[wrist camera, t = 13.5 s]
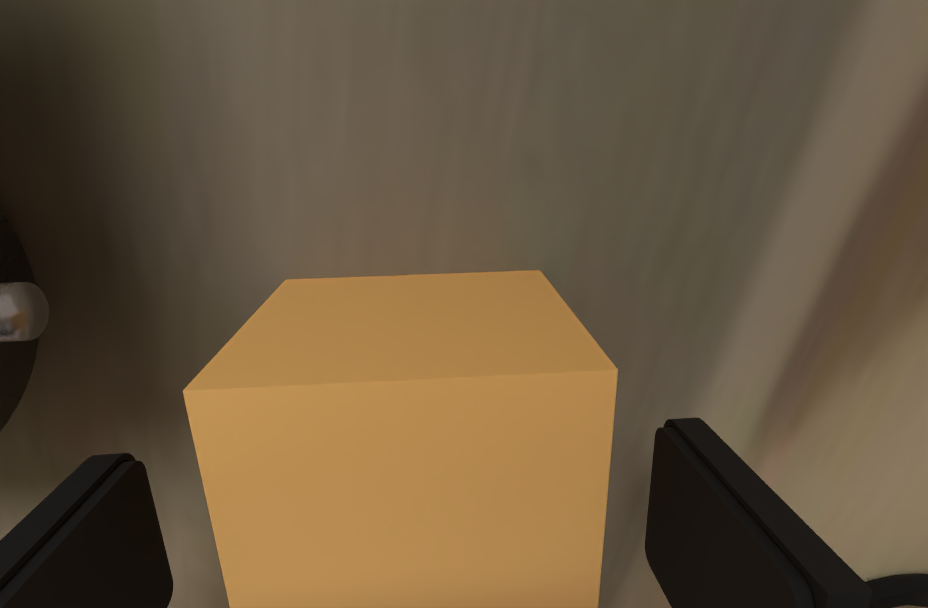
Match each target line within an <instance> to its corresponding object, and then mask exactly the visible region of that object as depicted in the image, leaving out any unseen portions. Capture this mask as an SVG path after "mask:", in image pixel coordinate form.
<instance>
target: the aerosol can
mask: <svg viewBox="0 0 928 608" xmlns="http://www.w3.org/2000/svg"><path fill="white" fill-rule="evenodd" d="M866 584H867V585H868V586H869V587H870V588H871V589H872V590H873V591H872V596H873V597H874V598H875V599H876V600H877V601H878V602H879V603H880V604H881V605H882V606H883V607H884V608H893V607H899V606H905V605H910V606H920V607H927V608H928V574H910V575H896V576H891V577H887V578H882V579H878V580H873V581H870V582H867V583H866Z"/></svg>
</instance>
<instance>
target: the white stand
mask: <svg viewBox="0 0 928 608" xmlns="http://www.w3.org/2000/svg"><path fill="white" fill-rule="evenodd" d="M48 319H49V306H48V302H47V299H46V297H45V295H44V293H43V292H42V290H41V289H40V288H39V287H37V286H36V285H35V283H34V279H33V275H32V271H31V268H30V265H29V263H28V260H27V257H26V254H25V252H24V250H23V248H22V246H21V244H20V242H19V240H18V237H17V236H16V234H15V232H14V231H13V229H12V227H11V226H10V224H9V222H8V221H7V219H6V218H5V217H4V215H3V214H2V213H1V211H0V431H1V429H2V428H3V427H4V426H5V424H6V423H7V422H8V420H9V418H10V417H11V415H12V414H13V412H14V410H15V409H16V407H17V405H18V403H19V401H20V399H21V397H22V395H23V393H24V391H25V389H26V386H27V383H28V380H29V378H30V375H31V372H32V368H33V364H34V360H35V356H36V350H37V343H38V337H39V336H40V335H41V334H42V333H43V331H44V330H45V328H46V326H47V323H48Z"/></svg>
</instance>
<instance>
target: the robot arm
mask: <svg viewBox="0 0 928 608" xmlns="http://www.w3.org/2000/svg"><path fill="white" fill-rule="evenodd" d="M645 551H646V557H647V560H648V563H649V565H650V567H651V569H652V571H653V573H654V575H655V577H656V579H657V581H658V583H659V584H660V586H661V588H662V590H663V592H664V594H665V596H666V598H667V599H668V601H669V603H670V605H671V607H672V608H884V607H883V606H882V605H881V604H880V603H879V602H878V601H877V600H876V599H875V598H874V597H873V596H872V591H873V590H872V589H871V588H870V587H869V586H868V585H867V584H866V583H865V582H864V581H863V580H862V579H861V578H860V577H859V576H858V575H857V574H856V573H855V572H854V571H853V570H852V569H851V568H850V567H849V566H848V565H847V564H846V563H845V562H844V561H843V560H842V559H841V558H840V557H839V556H838V555H837V554H836V553H835V552H834V551H833V550H832V549H831V548H830V547H829V546H828V545H827V544H826V543H825V542H824V541H823V540H822V539H821V538H820V537H819V536H818V535H817V534H816V533H815V532H814V531H813V530H812V529H811V528H810V527H809V526H808V525H807V524H806V523H805V522H804V521H803V520H802V519H801V518H800V517H799V516H798V515H797V514H796V513H795V512H794V511H793V510H792V509H791V508H790V507H789V506H788V505H787V504H786V503H785V502H784V501H783V500H782V499H781V498H780V497H779V496H778V495H777V494H776V493H775V492H774V491H773V490H772V489H771V488H770V487H769V486H768V485H767V484H766V483H765V482H764V481H763V480H762V479H761V478H760V477H759V476H758V475H757V474H756V473H755V472H754V471H753V470H752V469H751V468H750V467H749V466H748V465H747V464H746V463H745V462H744V461H743V460H742V459H741V458H740V457H739V456H738V455H737V454H736V453H735V452H734V451H733V450H732V449H731V448H730V447H729V446H728V445H727V444H726V443H725V442H724V441H723V440H722V439H721V438H720V437H719V436H718V435H717V434H716V433H715V432H714V431H713V430H712V429H711V428H710V427H709V426H708V425H707V424H706V423H705V422H704V421H703V420H701V419H700V418H683V419H668V420H667V421H666V422H665V424H664V428H658V429H657V431H656V434H655V442H654V453H653V463H652V474H651V485H650V495H649V506H648V517H647V527H646V538H645ZM172 592H173V579H172V575H171V571H170V566H169V562H168V558H167V554H166V550H165V546H164V542H163V538H162V534H161V530H160V525H159V521H158V517H157V513H156V509H155V505H154V501H153V497H152V493H151V489H150V484H149V480H148V476H147V472H146V468H145V466H144V464H143V463H142V462H141V461H136V460H135V458H134V457H133V456H132V455H131V454H129V453H123V454H107V455H95V456H91V457H90V458H88V459H87V460H86V461H85V462H83V463H82V464H81V465H80V466H79V467H78V468H77V469H76V470H75V471H74V472H73V473H72V474H71V475H70V476H69V477H67V478H66V479H65V480H64V481H63V482H62V483H61V484H60V485H59V486H58V487H57V488H56V489H55V490H54V491H53V492H52V493H50V494H49V495H48V496H47V497H46V498H45V499H44V500H43V501H42V502H41V503H40V504H39V505H38V506H37V507H36V508H34V509H33V510H32V511H31V512H30V513H29V514H28V515H27V516H26V517H25V518H24V519H23V520H22V521H21V522H20V523H18V524H17V525H16V526H15V527H14V528H13V529H12V530H11V531H10V532H9V533H8V534H7V535H6V536H5V537H4V538H3V539H1V540H0V608H167V607H168V605H169V602H170V600H171V596H172ZM893 608H927V607H920V606H910V605H905V606H899V607H893Z"/></svg>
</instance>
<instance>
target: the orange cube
mask: <svg viewBox="0 0 928 608" xmlns="http://www.w3.org/2000/svg"><path fill="white" fill-rule="evenodd" d="M617 376H618V369H617V368H616V367H615V365H614V364H613V363H612V362H611V360H610V359H609V358H608V356H607V355H606V354H605V353H604V351H603V350H602V349H601V347H600V346H599V345H598V344H597V342H596V341H595V340H594V339H593V337H592V336H591V335H590V333H589V332H588V331H587V330H586V328H585V327H584V326H583V324H582V323H581V322H580V321H579V319H578V318H577V317H576V316H575V314H574V313H573V312H572V310H571V309H570V308H569V307H568V305H567V304H566V303H565V301H564V300H563V299H562V298H561V296H560V295H559V294H558V293H557V291H556V290H555V289H554V287H553V286H552V285H551V284H550V282H549V281H548V280H547V278H546V277H545V276H544V275H543V273H542V272H541V271H540V270H529V271H502V272H475V273H448V274H422V275H395V276H368V277H341V278H314V279H287V280H285V281H284V282H283V283H282V284H281V285H280V286H279V287H278V288H277V289H276V290H275V292H274V293H273V294H272V295H271V296H270V297H269V298H268V299H267V300H266V301H265V302H264V303H263V304H262V306H261V307H260V308H259V309H258V310H257V311H256V312H255V313H254V314H253V315H252V316H251V317H250V319H249V320H248V321H247V322H246V323H245V324H244V325H243V326H242V327H241V328H240V329H239V330H238V331H237V333H236V334H235V335H234V336H233V337H232V338H231V339H230V340H229V341H228V342H227V343H226V344H225V346H224V347H223V348H222V349H221V350H220V351H219V352H218V353H217V354H216V355H215V356H214V357H213V358H212V360H211V361H210V362H209V363H208V364H207V365H206V366H205V367H204V368H203V369H202V370H201V371H200V373H199V374H198V375H197V376H196V377H195V378H194V379H193V380H192V381H191V382H190V383H189V384H188V386H187V387H186V388H185V389H184V390H183V395H184V400H185V404H186V409H187V413H188V418H189V423H190V427H191V432H192V436H193V441H194V445H195V450H196V455H197V459H198V464H199V468H200V473H201V477H202V482H203V487H204V491H205V496H206V500H207V505H208V509H209V514H210V519H211V523H212V528H213V532H214V537H215V541H216V546H217V551H218V555H219V560H220V564H221V569H222V574H223V578H224V583H225V587H226V592H227V596H228V601H229V606H230V608H598V601H599V590H600V578H601V566H602V554H603V542H604V530H605V518H606V507H607V495H608V483H609V471H610V459H611V447H612V435H613V424H614V412H615V400H616V388H617Z"/></svg>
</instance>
